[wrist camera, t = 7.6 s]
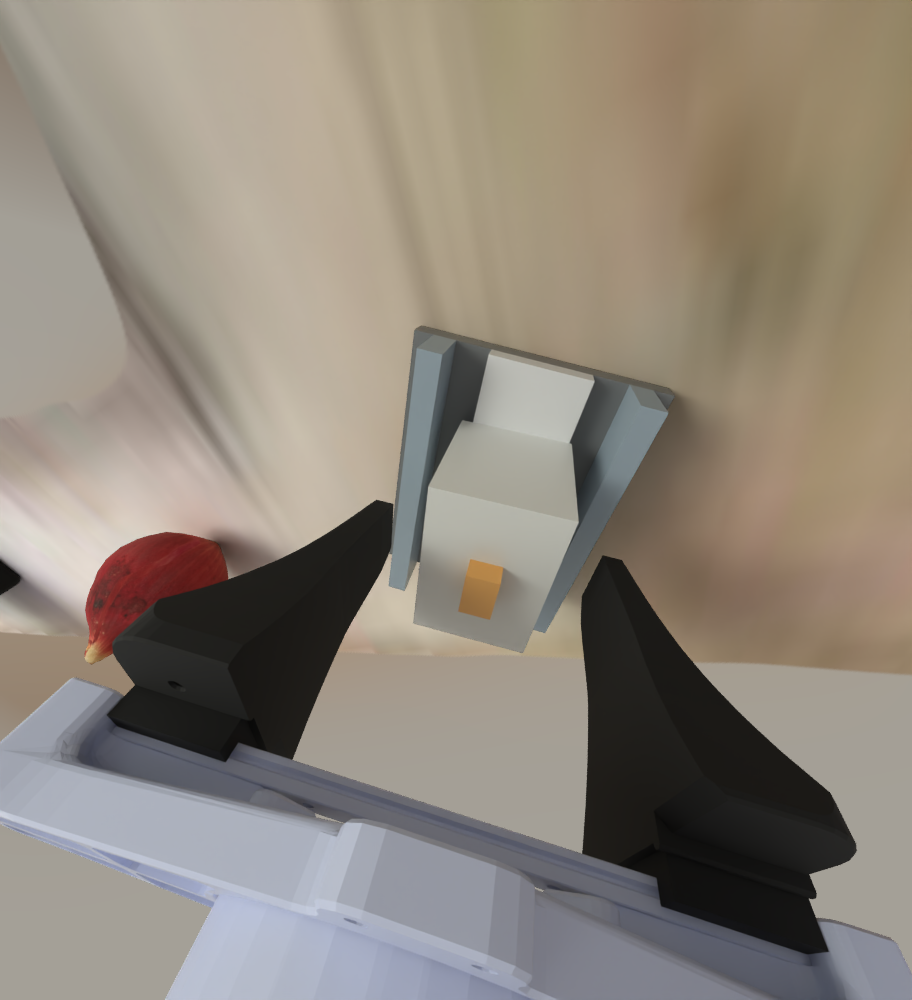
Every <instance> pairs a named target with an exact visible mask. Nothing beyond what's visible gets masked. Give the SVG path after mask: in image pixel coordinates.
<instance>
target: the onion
mask: <svg viewBox="0 0 912 1000" xmlns="http://www.w3.org/2000/svg"><path fill="white" fill-rule="evenodd" d="M225 580H228V571H227V566H226V562H225V559H224V556H223V554H222V552H221V548H220V547H219V545H218V544H217V543H215V542H213V541H211V540H207V539H204V538H201V537H197V536H193V535H187V534H182V533H171V532H164V533H160V534H155V535H150V536H146V537H143V538H140V539H137V540H135V541H133V542H131V543H129V544H127V545H125V546H122V547H120V548H119V549H118V550H117V551H116V552H114V553H113V554H112V555H111V556H110V557H108V558H107V559H106V560H105V562H104V563H103V565H102V566H101V568H100V569H99V570H98V572H97V575H96V578H95V581H94V583H93V585H92V587H91V589H90V592H89V595H88V598H87V602H86V609H85V611H86V618H87V622H88V625H89V630H90V635H89V642H88V646H87V649H86V651H85V660H86V661H87V662H88V663H90V664H93V663H95V662H98V661H101V660H102V659H104V658H105V657H107V656H109V655H111V654H113V649H112V642H113V641H114V639H115V638H116V637H117V636H118V635H119V634H120V633H122V632H123V631H124V630H125V629H126V628H127V627H128V626H129V625H130V624H132V623H133V622H134V621H135V620H136V619H137V618H138V617H139V616H140V615H141V614H143V613H144V612H145V611H146V610H147V609H148V608H149V607H150V606H152V605H153V604H154V603H155V602H156V601H157V600H159V599H161V598H165V597H169V596H173V595H177V594H180V593H184V592H188V591H192V590H196V589H199V588H203V587H206V586H210V585H213V584H216V583H219V582H222V581H225Z"/></svg>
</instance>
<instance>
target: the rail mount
mask: <svg viewBox="0 0 912 1000" xmlns="http://www.w3.org/2000/svg"><path fill="white" fill-rule="evenodd" d="M674 397H675V396H674V394H673V393H672V392H671V390H670V389H669V388H665V387H662V386H658V385H654V384H650V383H646V382H642V381H638V380H634V379H630V378H626V377H622V376H618V375H614V374H610V373H606V372H602V371H598V370H594V369H591V368H587V367H583V366H579V365H575V364H571V363H567V362H563V361H559V360H555V359H551V358H547V357H543V356H539V355H535V354H531V353H527V352H524V351H520V350H516V349H512V348H508V347H504V346H500V345H496V344H492V343H488V342H484V341H480V340H476V339H472V338H468V337H464V336H460V335H456V334H453V333H449V332H445V331H441V330H437V329H433V328H429V327H425V326H420V327H418V328H416V329H415V330H414V339H413V348H412V357H411V366H410V375H409V383H408V392H407V401H406V410H405V419H404V428H403V437H402V446H401V455H400V464H399V473H398V482H397V491H396V500H395V509H394V518H393V527H392V545H391V549H390V553H389V554H392V562H391V570H390V578H389V586H390V587H394V588H397V589H400V590H403V591H405V589H406V587H407V584H408V582H409V580H410V577H411V575H412V572H413V570H414V568H415V565H416V563H417V562H420V557H421V548H422V539H423V530H424V521H425V511H426V502H427V493H428V486H429V484H430V482H431V480H432V478H433V476H434V474H435V472H436V470H437V468H438V467H439V465H440V463H441V461H442V459H443V457H444V455H445V453H446V451H447V449H448V447H449V445H450V443H451V441H452V439H453V437H454V435H455V433H456V431H457V429H458V427H459V425H460V424H461V422H462V420H464V421H469V422H473V423H478V424H482V425H487V426H492V427H496V428H501V429H506V430H510V431H515V432H519V433H524V434H529V435H533V436H538V437H542V438H547V439H552V440H556V441H561V442H566V443H570V444H572V452H573V464H574V475H575V486H576V497H577V509H578V520H579V523H578V525H577V527H576V530H575V532H574V534H573V537H572V539H571V541H570V544H569V546H568V548H567V551H566V553H565V555H564V558H563V560H562V563H561V565H560V567H559V570H558V572H557V574H556V577H555V579H554V581H553V584H552V586H551V588H550V591H549V593H548V595H547V598H546V600H545V603H544V605H543V607H542V610H541V612H540V614H539V617H538V619H537V621H536V624H535V626H534V628H533V630H536V631H540V632H543V633H545V632H546V630H547V629H548V627H549V625H550V623H551V622H552V620H553V618H554V616H555V614H556V613H557V611H558V609H559V607H560V606H561V604H562V602H563V600H564V598H565V597H566V595H567V593H568V591H569V590H570V588H571V586H572V584H573V582H574V581H575V579H576V577H577V575H578V574H579V572H580V570H581V568H582V566H583V565H584V563H585V561H586V559H587V558H588V556H589V554H590V552H591V550H592V549H593V547H594V545H595V543H596V542H597V540H598V538H599V536H600V534H601V533H602V531H603V529H604V527H605V525H606V524H607V522H608V520H609V518H610V517H611V515H612V513H613V511H614V509H615V508H616V506H617V504H618V502H619V501H620V499H621V497H622V495H623V493H624V492H625V490H626V488H627V486H628V485H629V483H630V481H631V479H632V477H633V476H634V474H635V472H636V470H637V469H638V467H639V465H640V463H641V461H642V460H643V458H644V456H645V454H646V453H647V451H648V449H649V447H650V445H651V444H652V442H653V440H654V438H655V437H656V435H657V433H658V431H659V429H660V428H661V426H662V424H663V422H664V421H665V419H666V417H667V415H668V411H667V409H668V408H669V406H670V404H671V402H672V400H673V399H674Z"/></svg>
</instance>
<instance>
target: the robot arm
mask: <svg viewBox="0 0 912 1000" xmlns="http://www.w3.org/2000/svg"><path fill="white" fill-rule="evenodd" d="M392 523H393V504H391V503H387V502H383V501H379V500H376V501H374V502H373V503H371V504H370V505H368V506H367V507H365V508H364V509H363V510H361V511H360V512H358V513H357V514H355V515H354V516H353V517H351V518H350V519H348V520H347V521H345V522H344V523H342V524H341V525H339V526H338V527H336V528H335V529H333V530H332V531H330V532H329V533H327V534H325V535H324V536H322V537H320V538H319V539H317V540H315V541H313V542H312V543H310V544H308V545H307V546H305V547H303V548H301V549H299V550H297V551H295V552H294V553H292V554H289V555H287V556H285V557H283V558H281V559H279V560H277V561H275V562H272V563H270V564H267V565H265V566H262V567H260V568H258V569H255V570H253V571H250V572H248V573H245V574H242V575H240V576H237V577H234V578H231V579H228V580H225V581H222V582H219V583H216V584H213V585H210V586H206V587H203V588H199V589H196V590H192V591H188V592H184V593H180V594H177V595H173V596H169V597H165V598H161V599H159V600H157V601H156V602H155V603H154V604H153V605H152V606H150V607H149V608H148V609H147V610H146V611H145V612H144V613H143V614H141V615H140V616H139V617H138V618H137V619H136V620H135V621H134V622H133V623H132V624H130V625H129V626H128V627H127V628H126V629H125V630H124V631H123V632H122V633H120V634H119V635H118V636H117V637H116V638H115V639H114V641H113V642H112V649H113V654H114V655H115V657H116V659H117V661H118V662H119V663H120V665H121V666H122V667H123V669H124V670H125V672H126V673H127V674H128V676H129V677H130V678H131V680H132V681H133V683H134V684H135V686H134V687H133V688H132V689H131V690H130V691H129V692H128V693H127V694H126V695H125V696H123V695H122V694H120V693H119V692H117V691H116V690H113V689H111V688H108V687H105V686H102V685H99V684H96V683H92V682H89V681H86V680H83V679H79V678H77V677H76V678H71V679H70V680H69V681H67V682H66V683H65V684H64V685H63V686H62V687H61V688H60V689H58V691H56V692H55V693H54V694H53V695H52V696H51V697H50V698H49V699H47V700H46V701H45V702H44V703H43V704H42V705H41V706H40V707H39V708H37V709H36V710H35V711H34V712H33V713H32V714H31V715H30V716H29V717H28V718H26V719H25V720H24V721H23V722H22V723H21V724H20V725H19V726H18V727H17V728H15V729H14V730H13V731H12V732H11V733H10V734H9V735H8V736H6V738H4V739H3V740H2V741H1V742H0V824H1V825H3V826H5V827H8V828H9V829H11V830H13V831H16V832H18V833H21V834H24V835H26V836H29V837H32V838H34V839H37V840H40V841H42V842H45V843H48V844H50V845H53V846H56V847H58V848H61V849H63V850H66V851H69V852H71V853H74V854H76V855H79V856H82V857H84V858H87V859H90V860H92V861H94V862H97V863H100V864H102V865H105V866H107V867H110V868H112V869H115V870H117V871H120V872H122V873H125V874H128V875H130V876H133V877H135V878H137V879H140V880H143V881H145V882H148V883H150V884H153V885H155V886H158V887H160V888H163V889H165V890H168V891H170V892H173V893H175V894H178V895H180V896H183V897H186V898H188V899H191V900H193V901H195V902H198V903H201V904H203V905H206V906H208V907H211V908H212V909H211V911H210V913H209V915H208V917H207V919H206V921H205V923H204V924H203V926H202V928H201V931H200V932H199V934H198V936H197V938H196V940H195V942H194V944H193V946H192V948H191V950H190V952H189V954H188V956H187V957H186V959H185V962H184V963H183V965H182V967H181V969H180V971H179V973H178V975H177V977H176V979H175V981H174V983H173V985H172V987H171V989H170V991H169V992H168V994H167V997H166V998H165V1000H912V974H911V971H910V969H909V967H908V965H907V963H906V961H905V959H904V957H903V955H902V953H901V951H900V949H899V947H898V945H897V943H896V942H894V940H892V939H891V938H889V937H886V936H883V935H880V934H877V933H874V932H871V931H868V930H865V929H862V928H858V927H855V926H852V925H849V924H846V923H842V922H839V921H835V920H831V919H823V918H816V917H815V914H814V912H813V909H812V906H811V904H810V901H809V899H808V898H810V899H815V898H816V894H817V893H816V890H815V888H814V886H813V883H812V880H811V879H810V875H809V874H811V873H814V872H818V871H821V870H825V869H828V868H831V867H834V866H838V865H841V864H843V863H845V862H847V861H849V860H850V859H851V858H852V857H853V856H854V854H855V853H856V851H857V850H856V843H855V841H854V839H853V837H852V835H851V833H850V831H849V829H848V827H847V825H846V823H845V821H844V819H843V817H842V815H841V813H840V811H839V809H838V807H837V805H836V803H835V801H834V799H833V797H832V795H831V793H830V792H828V791H827V790H826V789H825V788H824V787H823V786H822V785H820V784H819V783H818V782H817V781H816V780H814V779H813V778H812V777H811V776H810V775H808V774H807V773H806V772H805V771H804V770H802V769H801V768H800V767H799V766H798V765H797V764H795V763H794V762H793V761H792V760H790V759H789V758H788V757H787V756H786V755H785V754H783V753H782V752H781V751H780V750H779V749H778V748H777V747H776V746H775V745H773V744H772V743H771V742H770V741H769V740H768V739H767V738H766V737H765V736H764V735H763V734H761V733H760V732H759V731H758V730H757V729H756V728H755V727H754V726H753V725H752V724H751V723H750V722H749V721H747V720H746V718H744V717H743V716H742V715H741V714H740V713H739V712H738V711H737V710H736V709H735V708H734V707H733V706H732V705H731V704H730V703H729V701H728V700H727V699H726V698H725V697H724V696H723V695H722V694H721V693H720V692H719V691H718V690H717V689H716V688H715V687H714V686H713V685H712V684H711V682H710V681H709V680H708V679H707V678H706V677H705V676H704V675H703V674H702V672H701V671H700V670H699V669H698V668H697V667H696V665H695V664H694V663H693V662H692V661H691V659H690V658H689V657H688V656H687V655H686V653H685V652H684V651H683V650H682V648H681V647H680V646H679V645H678V643H677V642H676V641H675V639H674V638H673V637H672V635H671V634H670V633H669V631H668V630H667V629H666V627H665V626H664V624H663V623H662V622H661V620H660V619H659V617H658V616H657V614H656V613H655V612H654V610H653V609H652V607H651V606H650V604H649V603H648V601H647V599H646V598H645V596H644V595H643V593H642V592H641V590H640V588H639V587H638V585H637V584H636V582H635V581H634V579H633V577H632V576H631V574H630V572H629V571H628V569H627V568H626V566H625V565H624V563H623V561H622V560H619V559H615V558H611V557H607V556H602V558H601V560H600V562H599V564H598V566H597V568H596V570H595V572H594V574H593V576H592V578H591V580H590V581H589V583H588V585H587V587H586V589H585V591H584V593H583V595H582V605H581V631H582V642H583V652H584V661H585V671H586V681H587V691H588V764H587V765H588V767H587V788H586V809H585V823H584V839H583V851H582V854H581V853H578V852H575V851H572V850H569V849H566V848H563V847H559V846H557V845H553V844H550V843H547V842H544V841H541V840H538V839H535V838H532V837H529V836H526V835H523V834H519V833H516V832H513V831H510V830H507V829H504V828H501V827H498V826H494V825H491V824H488V823H485V822H482V821H479V820H476V819H473V818H470V817H467V816H464V815H461V814H457V813H454V812H451V811H448V810H445V809H442V808H439V807H436V806H433V805H430V804H427V803H424V802H421V801H417V800H414V799H411V798H408V797H405V796H402V795H399V794H396V793H393V792H390V791H387V790H383V789H380V788H377V787H374V786H371V785H368V784H365V783H361V782H358V781H356V780H353V779H349V778H346V777H343V776H340V775H337V774H334V773H331V772H328V771H325V770H322V769H318V768H315V767H312V766H309V765H306V764H303V763H300V762H297V761H294V760H292V759H293V757H294V754H295V752H296V749H297V746H298V744H299V741H300V739H301V736H302V734H303V731H304V728H305V726H306V723H307V721H308V718H309V716H310V713H311V711H312V709H313V706H314V704H315V701H316V699H317V697H318V694H319V692H320V689H321V687H322V685H323V682H324V680H325V678H326V676H327V673H328V671H329V669H330V666H331V664H332V662H333V660H334V657H335V655H336V653H337V651H338V649H339V646H340V644H341V642H342V640H343V638H344V636H345V634H346V632H347V630H348V628H349V626H350V624H351V622H352V621H353V619H354V617H355V616H356V614H357V612H358V610H359V609H360V607H361V605H362V604H363V602H364V600H365V598H366V597H367V595H368V593H369V592H370V590H371V588H372V586H373V585H374V583H375V581H376V580H377V578H378V576H379V574H380V573H381V571H382V568H383V566H384V564H385V561H386V559H387V557H388V554H389V552H390V549H391V545H392ZM315 813H316V814H319V815H322V816H325V817H328V818H331V819H334V820H337V821H340V822H343V823H345V824H343V823H339V822H334V821H330V820H325V819H321V818H316V816H315ZM535 887H536V888H539V889H542V890H544V891H543V892H541V891H538V890H536V889H535Z"/></svg>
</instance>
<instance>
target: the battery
mask: <svg viewBox="0 0 912 1000" xmlns="http://www.w3.org/2000/svg"><path fill="white" fill-rule="evenodd" d="M19 582H20V577H19V576H18V575H16V574H15V573H14V572H13V571H11V570H10V569H9V568H8V567H6V566H5V565H4V564H2V563H1V562H0V595H1V594H3V593H4V592H6V591H8V590H9V589H11V588H12V587H14V586H15V585H17V584H18V583H19Z"/></svg>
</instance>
